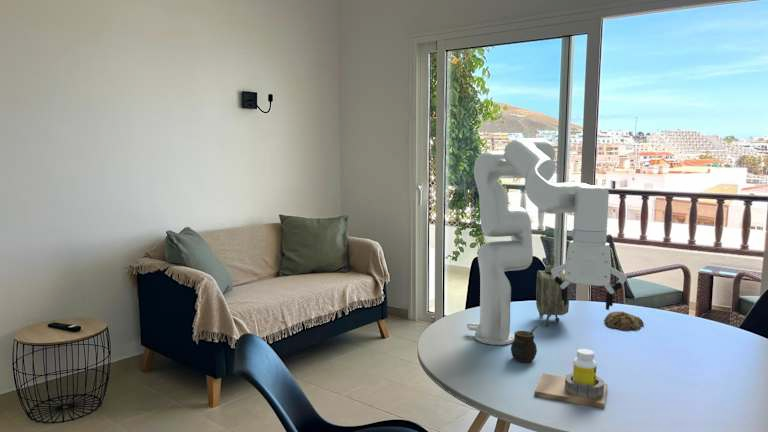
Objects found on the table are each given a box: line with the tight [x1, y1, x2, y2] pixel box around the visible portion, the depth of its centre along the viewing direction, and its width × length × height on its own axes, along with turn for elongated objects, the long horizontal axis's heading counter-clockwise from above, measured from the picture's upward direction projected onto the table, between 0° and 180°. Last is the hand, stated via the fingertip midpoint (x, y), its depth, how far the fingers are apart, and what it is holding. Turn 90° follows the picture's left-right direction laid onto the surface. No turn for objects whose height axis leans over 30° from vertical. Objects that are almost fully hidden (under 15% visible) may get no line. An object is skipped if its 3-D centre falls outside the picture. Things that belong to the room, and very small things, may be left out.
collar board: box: [534, 372, 608, 409], centre depth 137 cm, size 16×12×4 cm
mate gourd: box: [510, 325, 538, 363], centre depth 158 cm, size 7×8×10 cm
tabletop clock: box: [535, 251, 570, 327], centre depth 193 cm, size 14×9×25 cm, turn 172°
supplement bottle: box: [572, 348, 598, 386], centre depth 135 cm, size 5×5×10 cm
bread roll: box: [603, 311, 645, 332], centre depth 190 cm, size 13×12×5 cm
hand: (586, 306), depth 134 cm, fingers open, 9 cm apart
